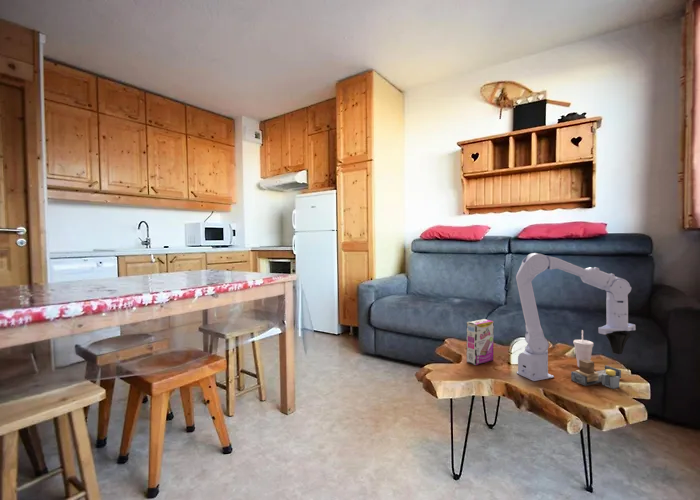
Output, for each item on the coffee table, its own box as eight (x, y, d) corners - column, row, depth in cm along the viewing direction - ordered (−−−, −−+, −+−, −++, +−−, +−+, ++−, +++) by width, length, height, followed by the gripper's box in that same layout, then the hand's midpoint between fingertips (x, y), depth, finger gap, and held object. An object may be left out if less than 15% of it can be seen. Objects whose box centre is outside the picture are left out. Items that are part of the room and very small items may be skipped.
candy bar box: (476, 366, 133) (476, 324, 132) (466, 362, 137) (465, 322, 137) (494, 360, 138) (494, 320, 138) (484, 357, 143) (483, 318, 142)
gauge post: (612, 388, 110) (612, 378, 110) (602, 384, 114) (601, 374, 114) (619, 387, 111) (619, 377, 111) (608, 383, 115) (608, 373, 114)
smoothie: (587, 364, 133) (587, 328, 132) (597, 370, 126) (597, 332, 126) (569, 363, 133) (569, 328, 133) (579, 369, 127) (579, 332, 126)
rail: (585, 385, 113) (585, 377, 113) (571, 380, 118) (571, 371, 118) (621, 378, 118) (621, 370, 118) (606, 373, 123) (606, 365, 123)
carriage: (587, 382, 114) (587, 364, 114) (575, 377, 118) (575, 359, 118) (598, 380, 115) (598, 362, 115) (585, 375, 119) (585, 358, 119)
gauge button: (611, 386, 111) (611, 372, 111) (603, 383, 113) (603, 369, 113) (617, 385, 112) (617, 371, 111) (609, 382, 114) (609, 368, 114)
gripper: (613, 317, 108) (614, 359, 108) (645, 313, 112) (645, 354, 112) (592, 313, 115) (592, 353, 115) (622, 309, 119) (623, 348, 119)
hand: (617, 353), depth 114 cm, fingers closed
